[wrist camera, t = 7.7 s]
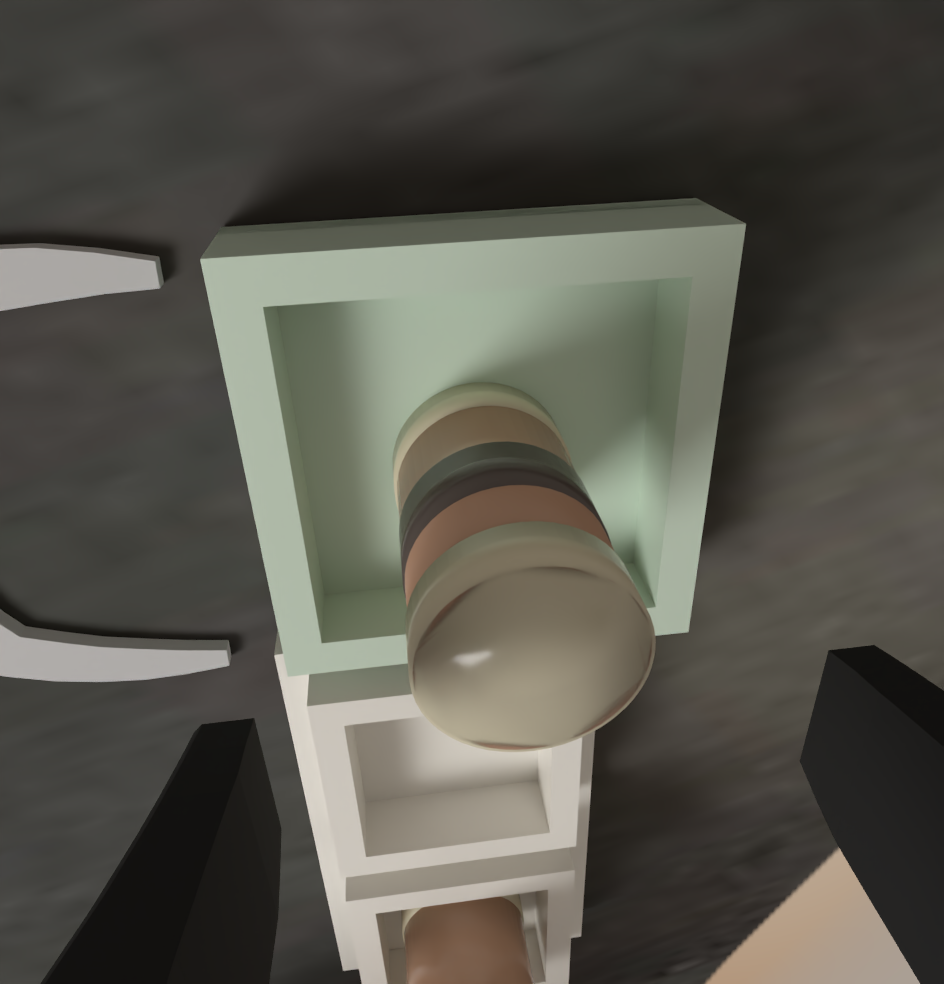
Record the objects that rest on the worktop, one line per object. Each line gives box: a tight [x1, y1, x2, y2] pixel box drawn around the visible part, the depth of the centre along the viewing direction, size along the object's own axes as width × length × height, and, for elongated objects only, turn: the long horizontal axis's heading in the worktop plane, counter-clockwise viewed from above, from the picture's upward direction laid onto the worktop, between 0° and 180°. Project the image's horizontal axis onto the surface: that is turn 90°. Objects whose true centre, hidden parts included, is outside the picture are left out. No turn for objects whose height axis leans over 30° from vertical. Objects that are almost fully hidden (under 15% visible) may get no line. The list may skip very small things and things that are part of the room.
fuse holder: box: [274, 632, 595, 984], centre depth 21 cm, size 13×8×2 cm, turn 2°
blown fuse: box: [392, 382, 656, 752], centre depth 14 cm, size 4×4×6 cm
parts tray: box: [200, 198, 746, 677], centre depth 15 cm, size 9×9×2 cm
